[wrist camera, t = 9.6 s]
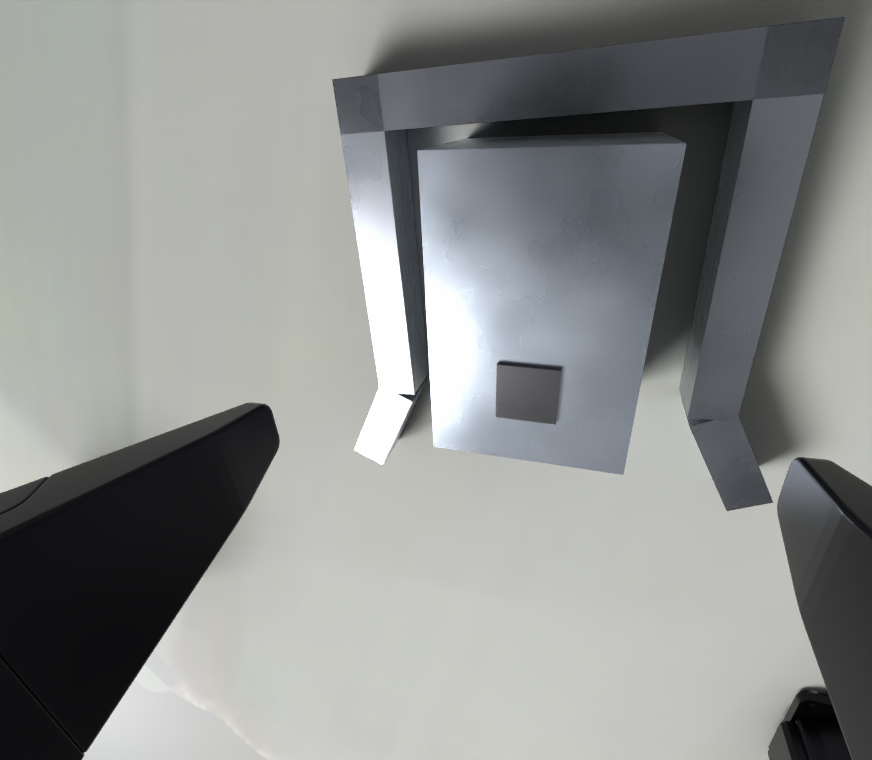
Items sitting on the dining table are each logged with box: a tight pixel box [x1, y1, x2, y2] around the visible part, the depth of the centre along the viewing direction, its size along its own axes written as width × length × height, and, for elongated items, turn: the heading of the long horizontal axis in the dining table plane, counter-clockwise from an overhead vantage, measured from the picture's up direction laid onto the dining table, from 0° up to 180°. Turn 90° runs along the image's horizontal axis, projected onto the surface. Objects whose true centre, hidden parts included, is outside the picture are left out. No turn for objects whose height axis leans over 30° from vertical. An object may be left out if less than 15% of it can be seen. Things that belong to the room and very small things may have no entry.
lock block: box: [417, 132, 687, 475], centre depth 15 cm, size 6×9×6 cm, turn 3°
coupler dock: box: [332, 17, 845, 511], centre depth 17 cm, size 17×15×2 cm
